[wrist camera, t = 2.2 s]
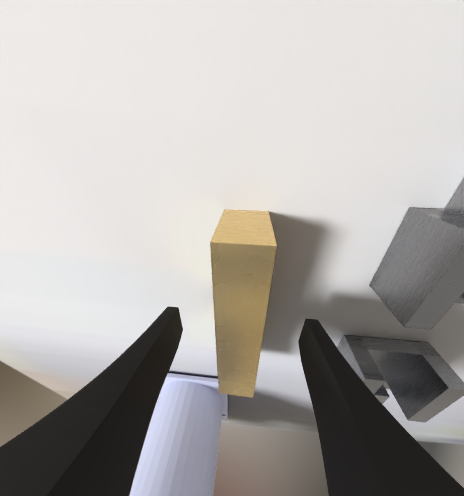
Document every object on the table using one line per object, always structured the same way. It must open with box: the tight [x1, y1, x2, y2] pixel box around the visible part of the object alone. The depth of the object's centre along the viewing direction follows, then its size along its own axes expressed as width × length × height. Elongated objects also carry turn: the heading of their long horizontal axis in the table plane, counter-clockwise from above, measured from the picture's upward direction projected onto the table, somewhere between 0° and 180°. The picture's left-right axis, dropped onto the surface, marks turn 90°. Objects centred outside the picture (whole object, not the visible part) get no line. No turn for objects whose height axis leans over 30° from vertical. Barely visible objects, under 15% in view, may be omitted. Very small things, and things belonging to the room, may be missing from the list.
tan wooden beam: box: [210, 210, 277, 398], centre depth 11 cm, size 12×2×4 cm, turn 179°
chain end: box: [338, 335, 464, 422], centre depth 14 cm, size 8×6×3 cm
